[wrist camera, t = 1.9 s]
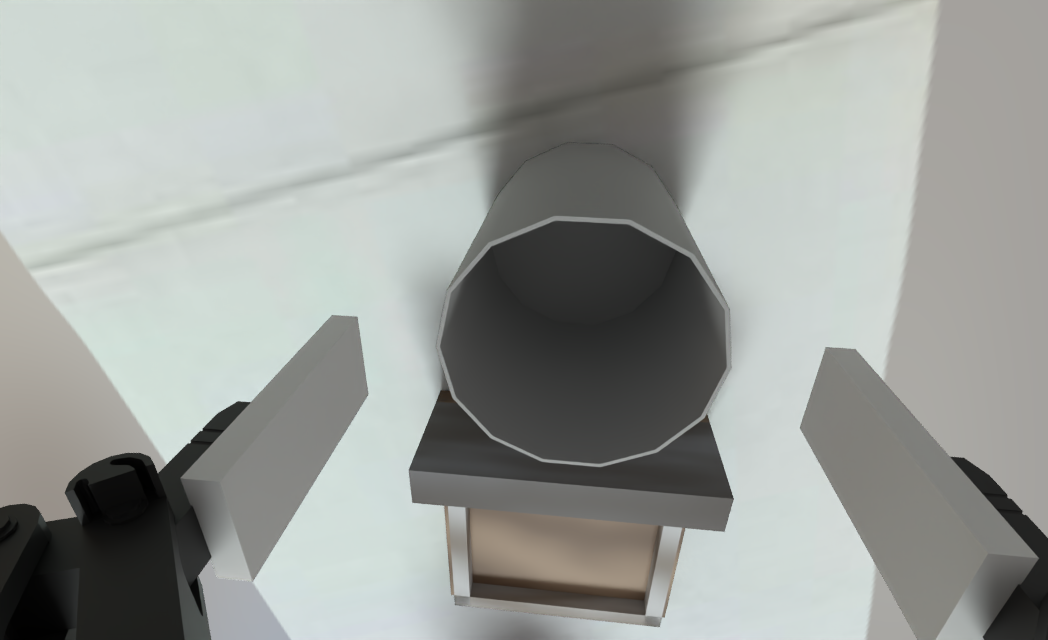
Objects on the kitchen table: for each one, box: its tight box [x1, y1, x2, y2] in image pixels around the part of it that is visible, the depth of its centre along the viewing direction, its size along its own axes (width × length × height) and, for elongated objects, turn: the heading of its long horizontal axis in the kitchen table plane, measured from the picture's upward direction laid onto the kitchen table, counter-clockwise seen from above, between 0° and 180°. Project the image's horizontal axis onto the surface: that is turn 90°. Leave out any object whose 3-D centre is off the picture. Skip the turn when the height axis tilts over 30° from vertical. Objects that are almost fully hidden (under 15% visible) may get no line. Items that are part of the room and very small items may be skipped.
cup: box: [436, 143, 731, 467], centre depth 20 cm, size 8×8×10 cm
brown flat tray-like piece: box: [409, 390, 734, 627], centre depth 30 cm, size 16×14×6 cm
